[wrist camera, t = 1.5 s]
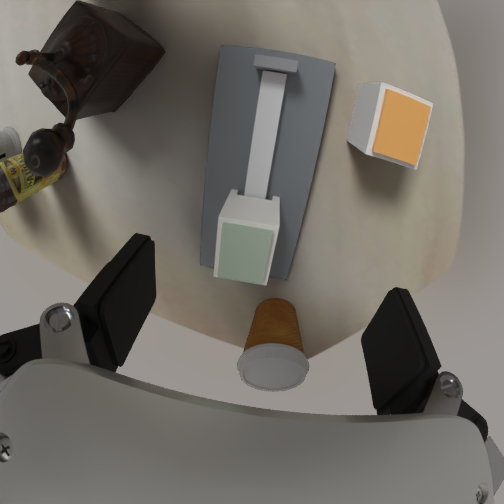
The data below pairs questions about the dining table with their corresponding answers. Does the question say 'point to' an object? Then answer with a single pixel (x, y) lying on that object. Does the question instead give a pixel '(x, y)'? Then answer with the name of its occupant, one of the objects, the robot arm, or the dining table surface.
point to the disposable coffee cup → (273, 349)
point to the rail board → (261, 159)
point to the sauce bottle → (22, 181)
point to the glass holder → (9, 144)
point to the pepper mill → (85, 75)
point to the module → (389, 123)
